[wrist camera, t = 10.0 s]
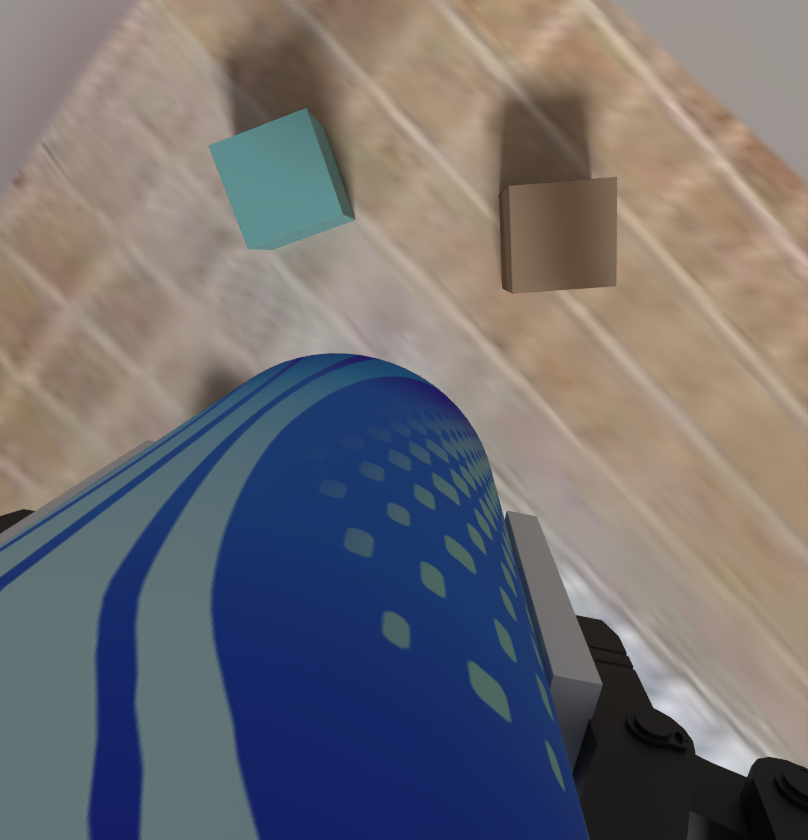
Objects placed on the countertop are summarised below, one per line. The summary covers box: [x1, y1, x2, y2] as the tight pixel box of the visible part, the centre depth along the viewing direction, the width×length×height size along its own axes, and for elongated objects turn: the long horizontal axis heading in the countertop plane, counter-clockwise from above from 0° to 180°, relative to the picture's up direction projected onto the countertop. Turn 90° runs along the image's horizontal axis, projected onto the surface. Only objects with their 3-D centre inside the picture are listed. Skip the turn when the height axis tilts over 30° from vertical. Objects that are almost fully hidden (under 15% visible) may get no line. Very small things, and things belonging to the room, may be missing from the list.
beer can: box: [0, 353, 590, 840], centre depth 11 cm, size 8×8×16 cm
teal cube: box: [209, 108, 355, 250], centre depth 33 cm, size 5×5×5 cm
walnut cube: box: [499, 177, 617, 293], centre depth 33 cm, size 5×5×5 cm
